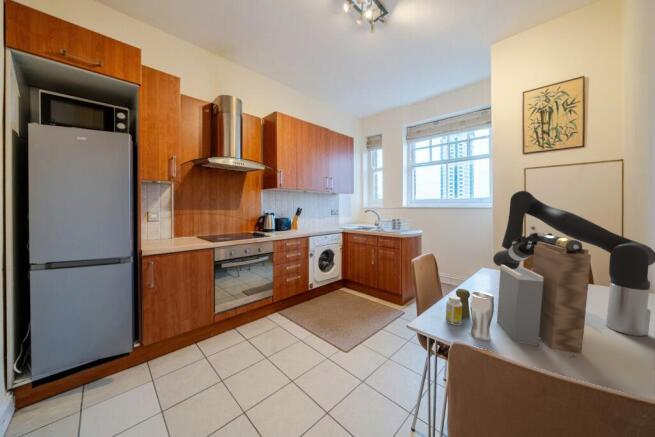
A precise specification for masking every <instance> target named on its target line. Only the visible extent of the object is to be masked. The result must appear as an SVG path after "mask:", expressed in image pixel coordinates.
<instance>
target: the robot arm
mask: <svg viewBox="0 0 655 437" xmlns="http://www.w3.org/2000/svg"><path fill="white" fill-rule="evenodd" d="M508 213H509V214H508V220H507V223H506V228H505V229H506V230H505V232H504V236H503V238H502V243H501V247H502V248H504V250H499V251H497V252H496V253H495V254H494V255H493V257H492V260H493V263H494V265H496V266H498V267H501V265H505V266H507V267H508V268H510V269H517V270H518V266H520V263H521V262H522V261H524V260H527V259H529V258H531V257H532V256H534V247H535V245H536V246H537V243H536V242H532V241H535V240H536V239H537V238H538V234H537V233H538V232H537V233H534V234H532V235H530V234H529V235H530V236H529V235H528V236H527V235H526V236H523V233H524V221H525V220H524V218H525V214H526V215H528V216H531V217H534V218H535V219H538V220H540V221H542V223H544V224H545V225H547V226H549V227H551V228H552V229H554V230H555V231H558V232H559V233H561V234H564V235H565V236H567V237H569V238H570V239H571V238H572V239H573V240H576V241H579V242H581V243H582V242H583V243H586V244H589V245H592V246H595V247H597V248H600V249H601V250H604V251H606V252H607V253H609V265H608V266H609V267H608V274H609V278H610V284H609V295H608V303H607V313H606V324H605V326H606V327H608V328H609V329H611V330H613V331H616V332H619V333H623V334H626V335H629V336H634V337H644V336H649V330H650V321H651V313H652V311H651V310H650V309H648V308H649V300H650V298H649V296H650V288H651V282H650V281H649V277H648V276H649V275H648V274H649V267H650V266H651V265H653V264H655V251H654V249H653V248H651V247H650V246H648V245H646V244H643V243H640V242H638V241H635V240H632V239H629V238H627V237H624V236H622V235H619V234H616V233H614V232H611V231H609V230H608V229H606V228H604V227H602V226H601V225H599V224H597V223H595V222H592V221H590V220H588V219H586V218H584V217H582V216H579V215H577V214H575V213H573V212H570V211H567V210H563V209H559V208H556V207H552V206H550V205H547V204H545V203H543V202H541V201H540V200H538V199H537V198H536V197H535V196H534V195H533V194H532V193H531V192H529V191H527V190H518V191H516V192H514V193H513V194H512V195H511V197H510V202H509V212H508ZM547 235H552V236H554V235H553V234H552V232H551V233H549V232H548V233H547Z"/></svg>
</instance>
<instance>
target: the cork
mask: <svg viewBox="0 0 655 437" xmlns="http://www.w3.org/2000/svg"><path fill="white" fill-rule="evenodd" d="M455 294H456V295H455V296H457V297H459V298H460V302H461V303H462V319H470V318H471V311H470V304H469V303H470V302H469V298H470V296H471V292H470V291H469V290H467V289H465V288H457V289H456V290H455Z"/></svg>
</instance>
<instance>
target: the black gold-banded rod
mask: <svg viewBox="0 0 655 437" xmlns="http://www.w3.org/2000/svg"><path fill="white" fill-rule="evenodd" d="M534 233H537V234H538V238H537V239H536V240H535V241H532V242H536V243H537V242H543V243H547V244H551V245H554V246H558V247H562V248H565V249H567V250H566V251H568V252H571V253H578V252H580V251H581V250H582V248H583V243H582V242H581V241H579V240H576V239H573V238H572V239H571V238H566V237H561V236H556V235H553V234H552V235H553V236H552V235H547V234H548V233H547V234H546V233H543V232H542V233H541V232H537V231H533V232H531V233H530V234H529V235H528V236H530V235H532V234H534Z"/></svg>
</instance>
